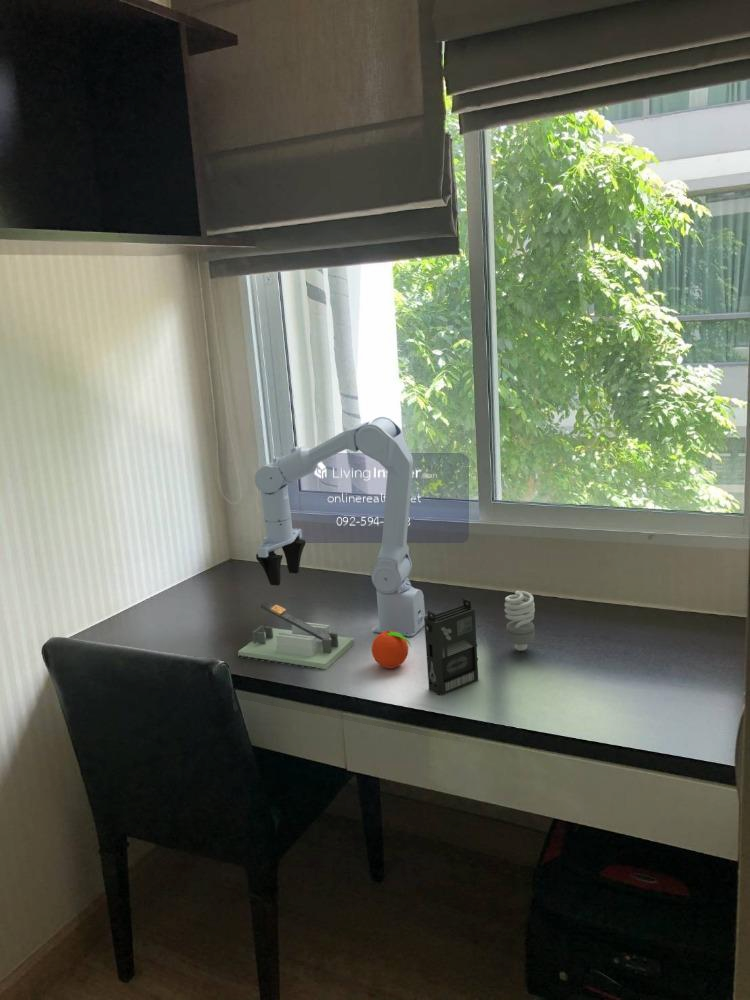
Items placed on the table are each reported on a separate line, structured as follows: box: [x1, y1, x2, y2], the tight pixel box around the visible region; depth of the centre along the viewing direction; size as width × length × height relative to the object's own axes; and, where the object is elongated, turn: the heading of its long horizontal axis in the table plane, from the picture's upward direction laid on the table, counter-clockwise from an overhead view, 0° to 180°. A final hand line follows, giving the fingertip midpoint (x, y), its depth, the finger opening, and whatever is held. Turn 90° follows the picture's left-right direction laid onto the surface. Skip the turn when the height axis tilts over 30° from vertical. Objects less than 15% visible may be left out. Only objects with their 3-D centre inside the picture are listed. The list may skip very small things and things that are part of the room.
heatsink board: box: [237, 621, 355, 670], centre depth 162 cm, size 20×12×5 cm, turn 64°
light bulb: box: [504, 590, 536, 652], centre depth 153 cm, size 6×6×12 cm
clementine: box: [371, 631, 412, 669], centre depth 151 cm, size 8×7×7 cm
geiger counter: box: [424, 597, 479, 697], centre depth 142 cm, size 10×4×15 cm, turn 123°
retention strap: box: [260, 601, 334, 642], centre depth 160 cm, size 16×2×1 cm, turn 66°
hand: (284, 578), depth 175 cm, fingers open, 7 cm apart
